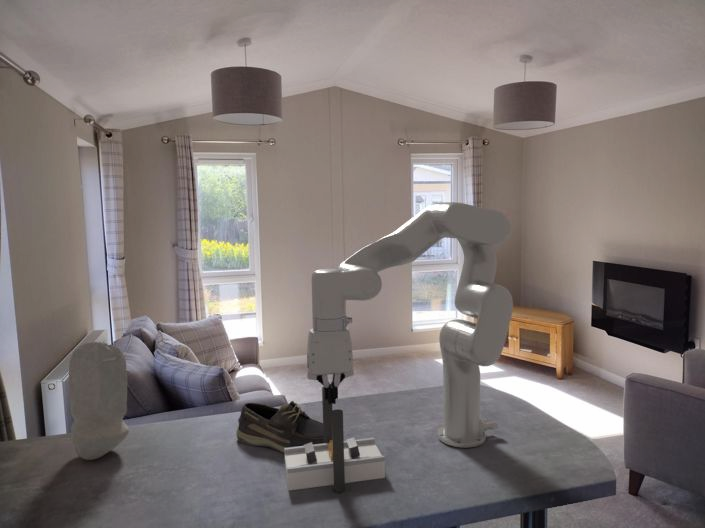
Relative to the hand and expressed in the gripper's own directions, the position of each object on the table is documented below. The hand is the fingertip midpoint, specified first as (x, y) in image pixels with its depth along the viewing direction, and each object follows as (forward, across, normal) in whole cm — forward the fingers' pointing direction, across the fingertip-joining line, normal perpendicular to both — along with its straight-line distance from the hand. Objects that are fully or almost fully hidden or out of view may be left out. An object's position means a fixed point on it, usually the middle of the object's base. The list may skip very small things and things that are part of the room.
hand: (331, 401), depth 117 cm
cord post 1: (+17, 0, -8) cm, 19 cm away
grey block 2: (+13, -5, 0) cm, 14 cm away
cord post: (+17, 0, +7) cm, 19 cm away
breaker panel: (+17, 0, 0) cm, 17 cm away
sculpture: (+18, +56, -23) cm, 63 cm away
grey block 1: (+13, +5, 0) cm, 14 cm away
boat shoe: (+18, +10, -18) cm, 27 cm away
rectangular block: (+13, 0, 0) cm, 13 cm away
